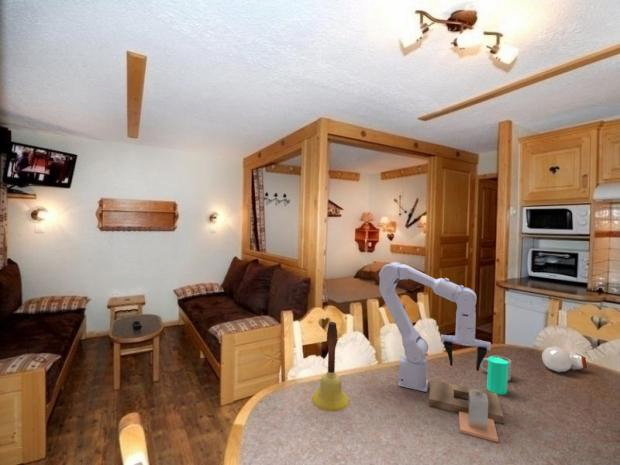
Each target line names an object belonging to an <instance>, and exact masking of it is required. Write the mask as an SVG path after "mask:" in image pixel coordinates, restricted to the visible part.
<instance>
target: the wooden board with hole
mask: <svg viewBox="0 0 620 465" xmlns="http://www.w3.org/2000/svg"><path fill="white" fill-rule="evenodd" d="M429 387H430V388H429V396H428V406H430V407H434V408H437V409H441V410H446V411H449V412H454V413H457V414H459V411H460V412H464V413H468V401H466V400H468V396H469V390H471V391H476V392H480V393H485V394H487V398H488V418H489V419H493V420H494V423H498V424H503V425H504V418H505V416H504V413H503V409H502V407H501V403H500V401H499V400H500V399H499V397H498V394H496V393H493V392H491V391H486V390H482V389H477V388H473V387H472V388H471V387H469V386H468V387H467V386H462V385H458V384H455V383H448V382H444V381H439V380H433V379H430V386H429ZM455 397H456V398H455ZM457 398H460V399H457ZM463 399H464V400H463Z"/></svg>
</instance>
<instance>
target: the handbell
mask: <svg viewBox="0 0 620 465" xmlns="http://www.w3.org/2000/svg"><path fill="white" fill-rule="evenodd" d="M326 330H327V331H326V343H327V348H328V351H327V352H328V353H327V354H328V355H327V372H326V373H324V374H323V375H322V376H321V377H320V387H319V389H317V390H316V391H314V392H313V393H312V395H313V396H312V395H311V398H312V399H311V402H312V404H313V403H314V404H313V405H314V406H315V407H316V406H317V407H316V408H318V409H321V410H323V411H325V412H326V411H327V412H339V411H343V410H344V409H346V408H347V407H348V406H349V405H350V397H349V395H348V394H347V393H346V392H345V391H343V389H342V380H341V377H340V376H339V375H338V374H336V372H335V368H336V348H337V344H338V328H337V323H336V322H335V321H330V322H329V323H328V325H327V329H326Z"/></svg>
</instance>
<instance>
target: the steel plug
mask: <svg viewBox="0 0 620 465" xmlns="http://www.w3.org/2000/svg"><path fill="white" fill-rule="evenodd" d="M467 400H468V401H467V402H468V424H469V426H471V427H475V428H478V429H482V430H486V431H487V422H488V398H487V394H485V393H480V392H476V391H471V390H469V396H468V399H467Z"/></svg>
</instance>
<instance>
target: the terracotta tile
mask: <svg viewBox="0 0 620 465" xmlns="http://www.w3.org/2000/svg"><path fill="white" fill-rule="evenodd" d="M458 422H459V433H460V434H465V435H469V436H472V437H476V438H480V439H484V440H487V441H491V442H496V443H499V438H498V433H497V429H496V425H495V422H494V420H493V419H489V418H488V422H487V431H486V430H482V429H478V428H475V427H471V426H469V424H468V413H464V412H460V411H459V413H458Z"/></svg>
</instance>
